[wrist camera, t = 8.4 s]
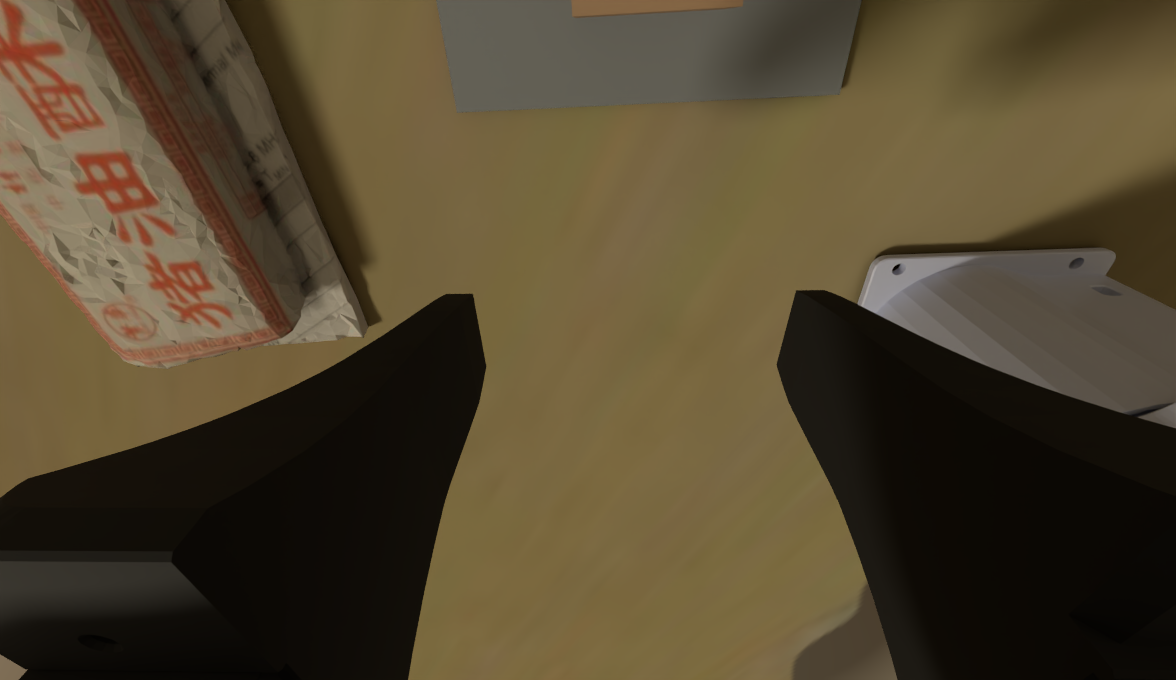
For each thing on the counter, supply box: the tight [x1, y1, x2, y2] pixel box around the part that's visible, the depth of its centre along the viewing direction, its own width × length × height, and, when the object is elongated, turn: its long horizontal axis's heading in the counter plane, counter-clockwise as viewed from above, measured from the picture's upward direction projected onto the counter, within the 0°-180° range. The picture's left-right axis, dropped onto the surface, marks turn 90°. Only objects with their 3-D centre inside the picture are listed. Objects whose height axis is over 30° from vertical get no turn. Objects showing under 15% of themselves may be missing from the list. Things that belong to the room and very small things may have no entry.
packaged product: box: [0, 0, 368, 369], centre depth 15 cm, size 18×5×10 cm
